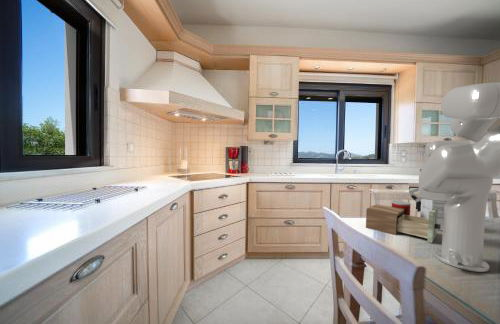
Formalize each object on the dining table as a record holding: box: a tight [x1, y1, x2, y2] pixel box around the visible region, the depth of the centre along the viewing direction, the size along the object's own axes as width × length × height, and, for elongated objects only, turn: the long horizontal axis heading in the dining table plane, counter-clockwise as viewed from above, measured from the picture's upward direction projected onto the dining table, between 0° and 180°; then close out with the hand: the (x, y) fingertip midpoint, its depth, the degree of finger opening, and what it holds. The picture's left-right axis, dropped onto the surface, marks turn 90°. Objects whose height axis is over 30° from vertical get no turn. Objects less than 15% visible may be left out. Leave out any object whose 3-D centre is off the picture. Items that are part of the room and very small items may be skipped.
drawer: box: [397, 207, 440, 243], centre depth 93 cm, size 14×14×12 cm
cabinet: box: [365, 203, 404, 236], centre depth 102 cm, size 14×12×9 cm
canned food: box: [391, 199, 411, 216], centre depth 108 cm, size 8×8×11 cm
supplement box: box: [420, 195, 453, 232], centre depth 104 cm, size 10×9×17 cm
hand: (433, 213), depth 90 cm, fingers open, 9 cm apart
